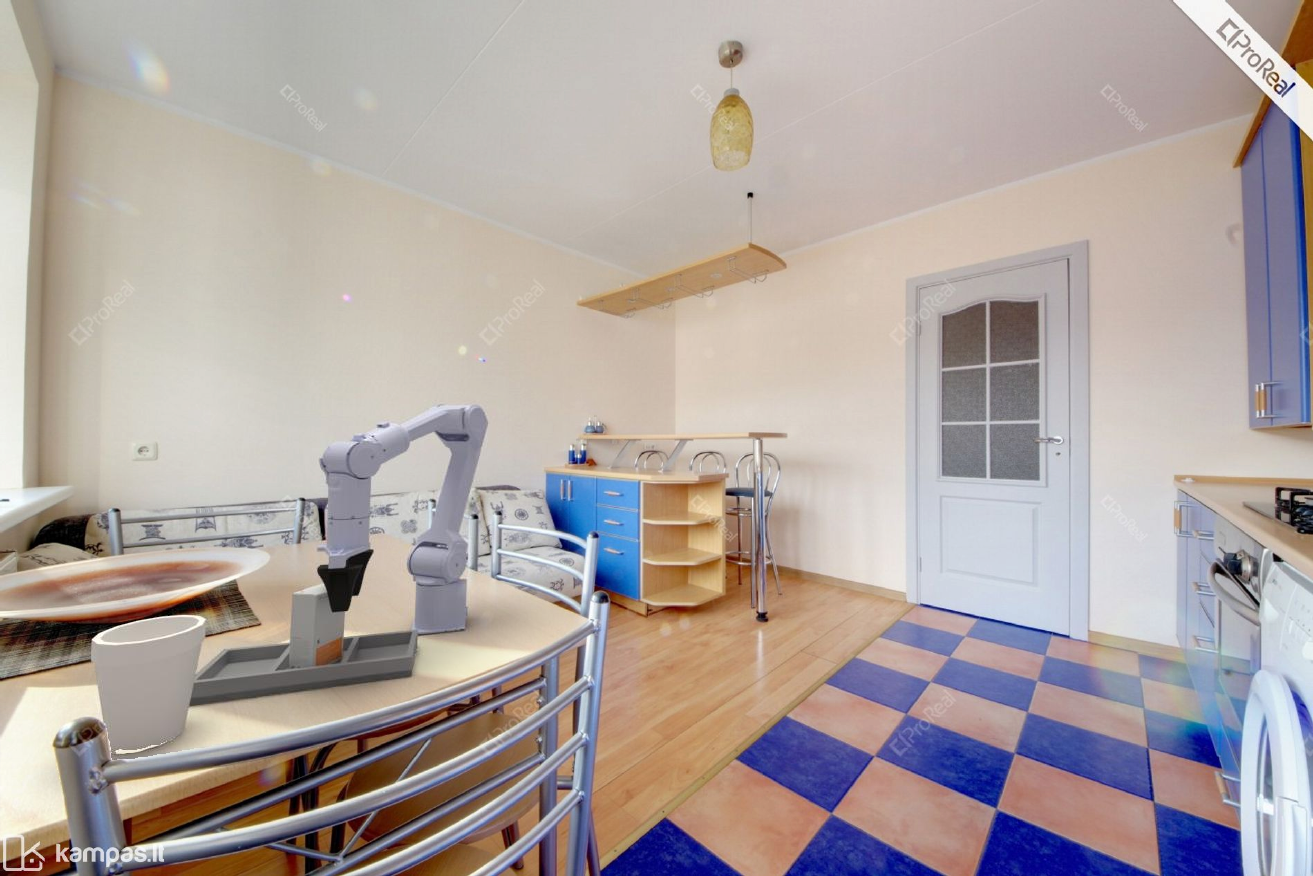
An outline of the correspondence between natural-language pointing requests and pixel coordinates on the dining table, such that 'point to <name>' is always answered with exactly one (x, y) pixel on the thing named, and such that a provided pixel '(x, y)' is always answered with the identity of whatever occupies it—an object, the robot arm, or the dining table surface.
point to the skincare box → (315, 629)
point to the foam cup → (147, 678)
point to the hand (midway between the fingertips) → (346, 603)
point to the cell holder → (270, 673)
